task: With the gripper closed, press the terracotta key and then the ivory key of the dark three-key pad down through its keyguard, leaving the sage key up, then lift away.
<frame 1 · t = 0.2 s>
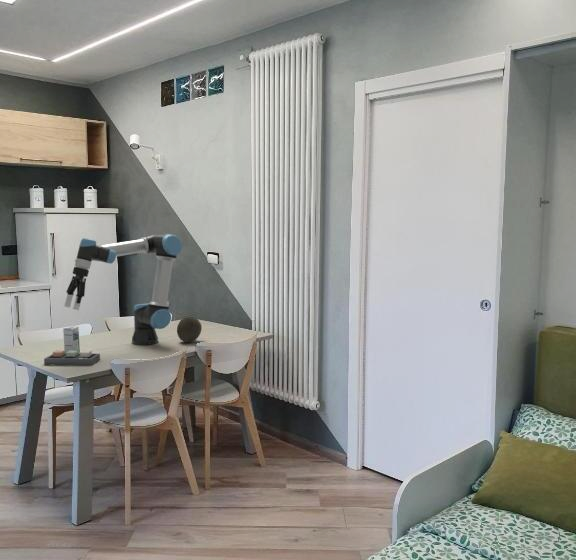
hand: (71, 308, 302), 27 cm above the table, tool tilted 15°, fingers open, 13 cm apart
syrup box: (72, 353, 321), on the table
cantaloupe: (189, 342, 350), on the table
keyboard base: (72, 362, 302), on the table
terracotta key: (58, 353, 302), point 4 cm above the table, slide at 0.0 cm
sage key: (72, 353, 302), point 4 cm above the table, slide at 0.0 cm
ivory key: (85, 353, 301), point 4 cm above the table, slide at 0.0 cm
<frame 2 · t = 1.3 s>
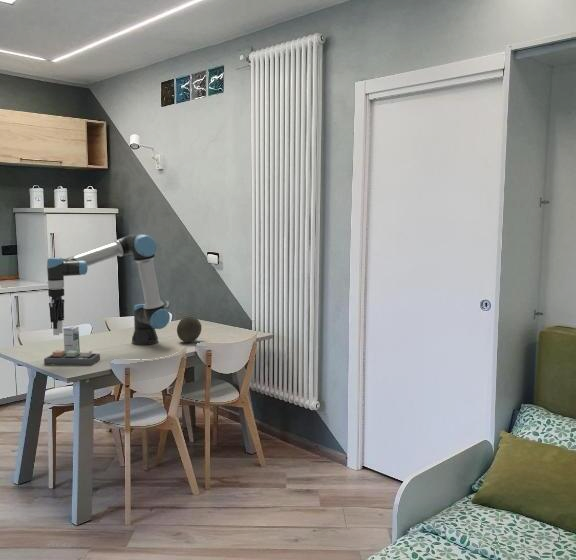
hand: (58, 334, 301), 15 cm above the table, tool pointing down, fingers open, 3 cm apart
nothing on the table moved.
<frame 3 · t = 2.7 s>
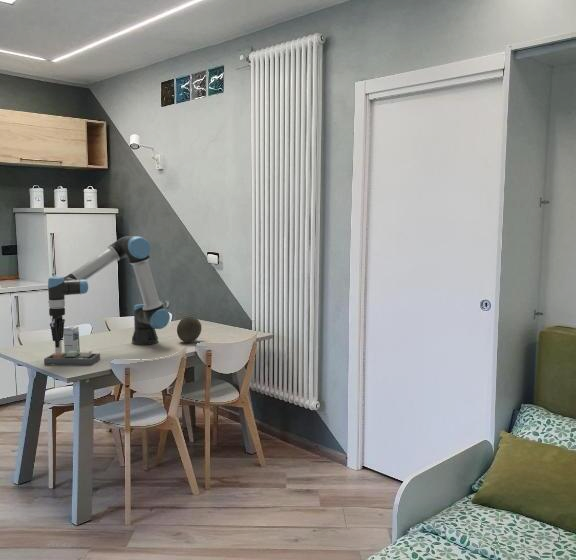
hand: (58, 353, 302), 5 cm above the table, tool pointing down, fingers closed
terracotta key: (58, 355, 302), point 3 cm above the table, slide at 1.2 cm, touching gripper
everything else where it was.
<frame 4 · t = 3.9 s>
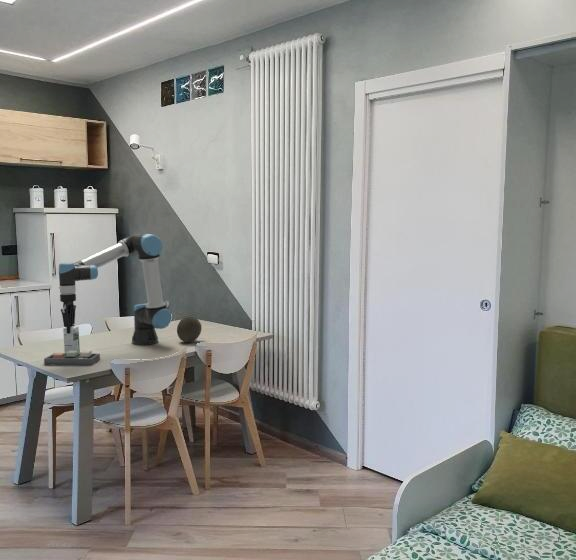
hand: (70, 339, 301), 12 cm above the table, tool pointing down, fingers closed
terracotta key: (58, 355, 302), point 3 cm above the table, slide at 1.3 cm
everything else where it was.
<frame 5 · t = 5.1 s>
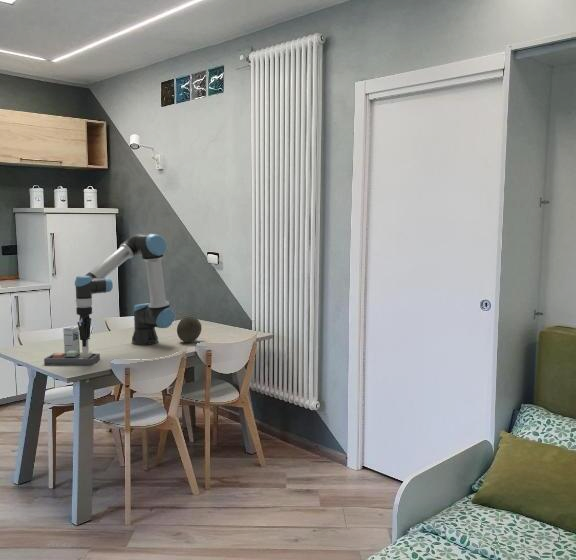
hand: (85, 352, 301), 5 cm above the table, tool pointing down, fingers closed
ivory key: (85, 354, 301), point 4 cm above the table, slide at 0.5 cm, touching gripper
everything else where it was.
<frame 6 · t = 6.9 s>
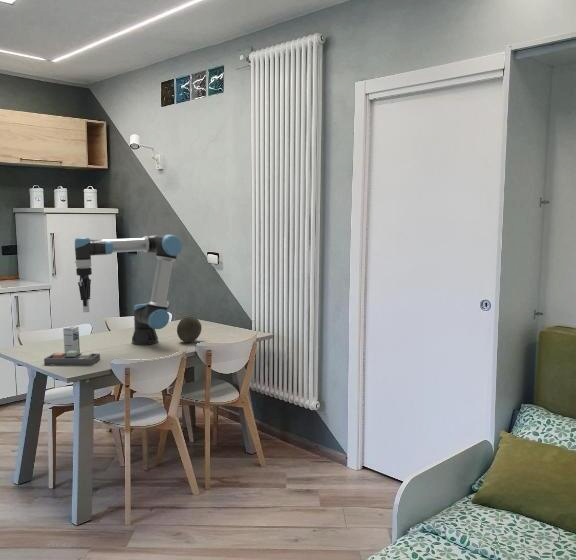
hand: (86, 312, 311), 24 cm above the table, tool pointing down, fingers closed
ivory key: (86, 356, 301), point 3 cm above the table, slide at 1.3 cm
everything else where it was.
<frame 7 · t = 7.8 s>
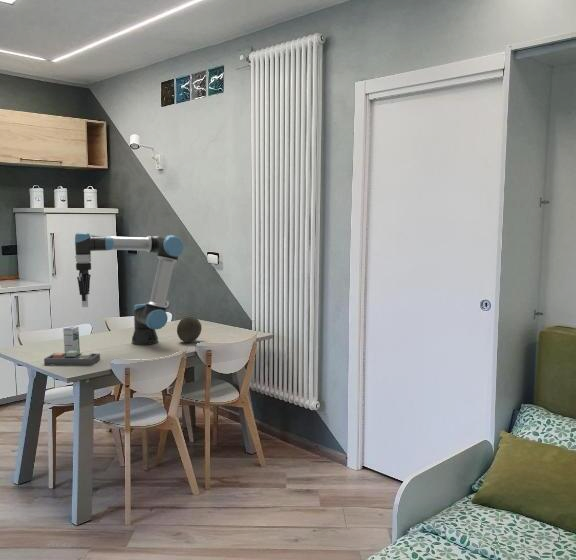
hand: (85, 306, 313), 26 cm above the table, tool pointing down, fingers closed
nothing on the table moved.
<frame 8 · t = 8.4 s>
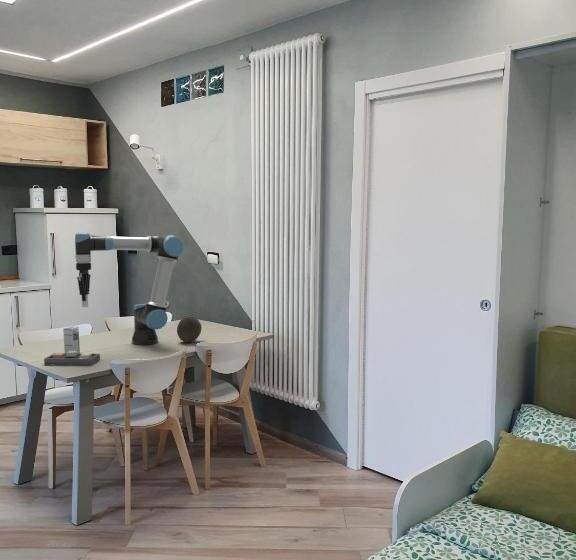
hand: (85, 306, 313), 26 cm above the table, tool pointing down, fingers closed
nothing on the table moved.
at the end: terracotta key slide at 1.3 cm; ivory key slide at 1.3 cm; sage key slide at 0.0 cm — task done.
